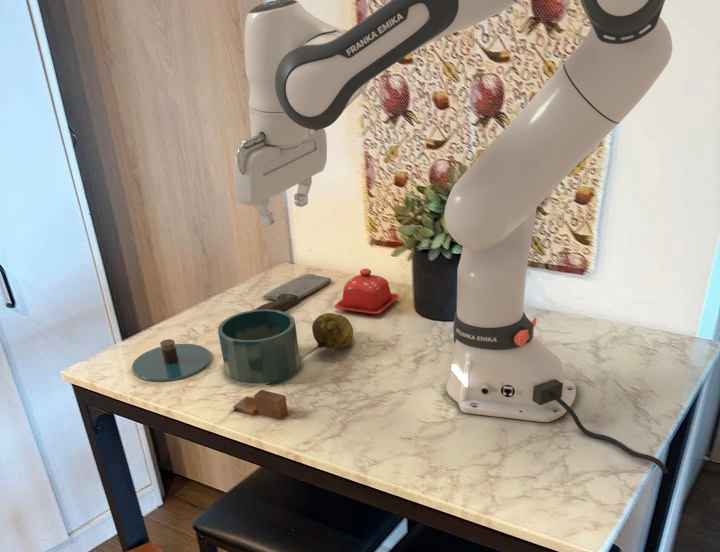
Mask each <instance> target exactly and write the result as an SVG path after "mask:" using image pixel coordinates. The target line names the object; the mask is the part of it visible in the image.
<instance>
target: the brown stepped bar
mask: <svg viewBox="0 0 720 552" xmlns="http://www.w3.org/2000/svg"><path fill="white" fill-rule="evenodd" d="M232 407H233V411H236V412H239V413H242V414H247V415H249V416H255V415H256V414H258V415H262V416H266V417H270V418H274V419H277V420H282V419H284V417H286V416H287V415H288V413H289V412H288V404H287V397H286V395H284V394H280V393H277V392H272V391H269V390H264V389H260V390H259V391H258V392H256V393H255V394H254V395H253V397H251V396H245V397H244V398H242V399H241V400H240V401H238V402H237V403H236V404H234V405H233V406H232Z"/></svg>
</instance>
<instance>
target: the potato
mask: <svg viewBox="0 0 720 552" xmlns="http://www.w3.org/2000/svg"><path fill="white" fill-rule="evenodd" d="M311 330H312V331H311V332H312V335H313V338H314V340H315V342H316V343H317V346H318V347H319V348H322V349H323V348H325V349H328V350H336V349H342V348H345V347H347V346H348V345H349V344H350V343H351V342H352V340H353V337H354V327H353V325H352V323H351V322H350V320H349V319H348V318H347V317H346V316H345V315H344V316H343V315H341V314H336V313H332V312H325V313H322V314H320V315H318V316H317V317H316V318H315V320H313V322H312V326H311Z"/></svg>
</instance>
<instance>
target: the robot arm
mask: <svg viewBox="0 0 720 552" xmlns="http://www.w3.org/2000/svg"><path fill="white" fill-rule="evenodd" d="M520 1H521V0H388V1H387V2H386V3H385V4H384V5H382V6H381V7H379V8H377V9H376V10H375V11H373V12H372V13H371V14H369V15H368V16H367V17H365V18H363V20H361V21H360V22H358V23H357V24H355V25H354V26H352V27H351V28H350V29H348V30H347V29H343V28H339V27H337V26H334V25H332V24H330V23H327V22H326V21H324V20H322V19H320V18H318V17H317V16H316V15H315V16H314V15H313V14H312V13H310V12H309V11H307V10H306V8H305V7H304V6H303V5H302V4H301V3H300V2H299V1H298V0H270V1H268V2H265V3H260V4H258V5H256V6H255V7H253V8H252V9H251V10H250V11H248V14H247V15H246V17H245V21H244V22H245V23H244V65H245V74H246V76H247V80H248V83H249V96H248V112H249V113H248V114H249V125H250V136H251V137H250V138H245V139H243V140H242V141H241V143H240V146H239V148H238V150H237V151H236V154H235V155H236V156H235V159H234V176H233V177H234V195H235V198H236V200H237V201H238V202H239V203H240V204H243V205H246V206H252V207H254V208H255V210H256V212H257V213H258V214H259V223H260V225H262V226H265V227H270V226H271V225H273V224H274V223H275V212H272V211H270V209H269V207H268V206H270V199H272V198H274V197H275V196H278V195H279V194H281V193H283V192H286V191H287V190H289V189H291V188H293V187H295V186H296V185H297V190H296V193H294V194H293V199H294V202H293V203H294V205H295V206H296V207H299V208H303V207H305V206H306V205H308V203H309V192H310V189H311V187H312V183H313V179H312V178H313V176H315V175H317V174H320V173H321V172H323V171H324V170H325V167H326V164H327V161H328V160H327V159H328V157H327V156H328V143H327V141H328V139H327V132H326V128H328V127H330V126H331V125H333V124H334V123H335V122H336V121H337V120H338V119H339V118H340V116H341V115H342V114H343V112H345V110H346V109H347V108H348V107H349V106H351V104H352V103H353V102H354V101H355V100H356V99H357V98H359V97H360V95H362V93H363V92H364V90H365V89H366V88H367V86H368V84H369V83H370V81H371V80H373V79H375V78H376V77H377V76H379V75H380V74H381V73H384V71H386V70H388V69H389V68H390V67H392V66H394V65H395V64H396V63H398V62H399V61H401V60H402V59H404V58H406V57H407V56H409V55H410V54H411V53H413V52H415V51H417V50H419V49H420V48H422V47H424V46H426V45H428V44H430V43H433V42H435V41H437V40H440V39H442V38H446V37H447V36H450V35H452V34H456V33H458V32H460V31H462V30H465V29H467V28H471V27H472V26H475V25H478V24H480V23H482V22H485V21H486V20H489V19H491V18H493V17H495V16H496V15H498V14H500V13H503V12H504V11H506V10H507V9H510V8H511V7H513V6H514V5H516V4H517V3H518V2H520ZM579 1H580V4H581V6H582V9H583V12H584V13H585V15H586V16H587V18H588V20H589V23H590V24H591V27H590V28H589V31H588V33H587V34H586V35H585V37H584V39H583V40H582V42H581V43H580V45H578V47H577V48H576V49H575V50H573V52H572V53H571V54H570V55H569V56H568V57H567V58H566V60H564V62H563V63H562V64H561V65H560V66H559V67H558V68H557V70H556V71H555V72H554V73H553V74H552V75H551V76H550V78H549V79H548V80H547V81H546V82H545V83H544V84H543V86H542V87H541V88H540V89H539V90H538V91H537V92H536V93H535V95H533V97H532V98H531V99H530V101H529V102H528V103H527V104H526V105H525V106H524V107H523V108H522V109H521V110H520V111H519V112H518V114H517V115H516V116H515V117H514V118H513V119H512V120H511V121H510V123H508V125H506V127H505V128H504V129H503V130H502V131H501V132H500V134H498V135H497V137H496V138H495V139H494V140H493V141H492V142H491V143H490V144H489V145H488V146H487V148H485V150H484V151H483V152H482V153H481V154H480V155H479V156H478V157H477V159H475V160H474V162H473V163H472V164H471V165H470V166H469V167H468V168H467V169H466V171H465V172H464V173H463V174H462V175H461V176H460V178H459V179H457V181H456V182H455V183H454V185H453V186H452V189H451V190H450V193H449V195H448V198H447V200H446V203H445V207H444V213H443V214H444V217H443V218H444V224H445V227H446V229H447V232H448V234H449V235H450V236H451V238H452V239H453V240H454V241H455V242H456V243H457V244H459V245H461V246H462V249H461V254H460V257H459V262H458V265H457V271H456V273H457V274H456V275H457V278H456V280H457V281H456V311H455V313H454V316H453V327H452V333H453V343H454V352H453V358H452V364H451V370H450V374H449V376H448V380H447V383H446V386H445V389H446V392H447V395H448V396H449V397H450V398H451V399H452V400H454V401H455V402H456V403H457V404H458V407H459V410H460V411H461V412H463V413H464V414H472V415H479V416H488V417H497V418H506V419H514V420H522V421H532V422H539V423H551V422H553V421H555V420H558V419H559V418H561V417H563V416H564V415H565V414H566V413H568V414H569V415H570V417H571V418H572V420H573V421H574V423H575V425H576V427H577V428H578V429H579V431H580V432H582V433H583V434H584V435H586V436H588V437H590V438H592V439H593V438H594V439H598V440H603V441H606V442H609V443H611V444H613V445H615V446H616V447H617V448H619V449H621V450H622V451H624V452H626V453H627V454H629V455H631V456H633V457H635V458H639V459H642V460H646V461H649V462H652V463H654V464H655V465H656V466H658V468H659V469H660V470H661V472H662V473H663V474H669V470H668V468H667V467H666V465H665V464H664V463H663V462H662V461H661V460H660V459H658V458H657V457H655V456H653V455H649V454H645V453H641V452H638V451H636V450H633V449H631V448H630V447H628V446H627V445H625V444H624V443H622V442H620V441H619V440H617V439H615V438H613V437H611V436H608V435H605V434H600V433H595V432H593V431H590V430H588V429H587V428H585V426H584V425H583V424H582V422H581V421H580V419H579V417H578V416H577V413H576V412H575V411H574V410H573V409H572V408H571V407H572V406H573V404H574V402H575V400H576V397H577V389H576V385H575V383H574V382H573V381H572V380H569V379H566V378H565V374H564V366H563V362H562V360H561V358H560V357H559V356H558V355H557V354H556V353H554V352H553V351H552V350H550V349H549V348H548V347H547V346H546V345H545V344H544V343H542V342H541V341H540V340H538V339H537V337H535V336H534V330H535V327H536V326H537V317H534V318H533V319H532V320H530V319H529V318H528V316H527V315H526V313H525V311H524V308H525V307H524V306H525V294H526V280H527V271H528V263H529V262H528V261H529V257H530V251H531V247H532V239H533V235H534V229H535V222H536V216H537V209H538V207H539V206H540V205H541V204H542V203H543V201H545V200H546V199H547V198H548V197H549V195H550V194H551V193H552V192H553V191H554V190H555V189H556V188H557V187H558V186H559V185H560V184H561V183H562V181H564V180H565V179H566V178H567V176H568V175H569V174H571V172H572V171H573V170H574V169H575V168H576V167H577V166H578V165H579V164H580V163H581V162H582V161H583V160H584V159H585V158H586V157H587V156H588V155H589V154H590V153H591V152H592V151H593V150H594V149H595V148H596V147H597V146H598V145H599V144H600V143H601V142H602V141H603V140H604V139H605V138H606V137H607V136H608V135H609V134H610V133H611V132H612V131H613V130H614V129H615V128H616V127H617V126H618V125H619V124H620V123H621V122H622V121H623V120H624V119H625V117H627V115H628V114H630V113H631V112H632V110H633V109H634V108H635V107H636V106H637V105H638V104H639V102H641V100H642V99H643V98H644V97H645V95H646V94H647V93H648V92H649V91H650V90H651V88H652V87H653V85H654V84H655V82H656V81H657V80H658V78H659V77H660V76H661V74H662V73H663V71H664V70H665V69H666V67H667V66H668V64H669V62H670V60H671V57H672V53H673V40H672V36H671V31H670V29H669V27H668V25H667V24H666V23H665V21H664V20H663V19H662V17H661V14H662V11H663V7H664V5H665V1H666V0H579Z"/></svg>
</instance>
